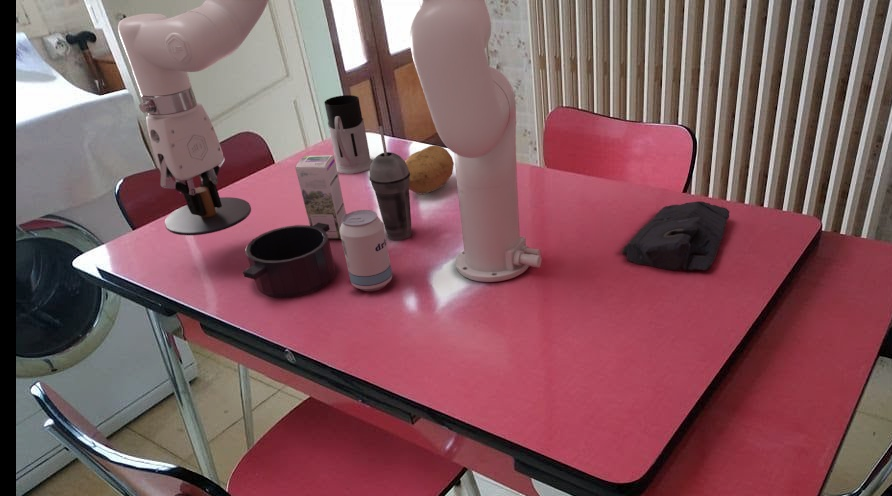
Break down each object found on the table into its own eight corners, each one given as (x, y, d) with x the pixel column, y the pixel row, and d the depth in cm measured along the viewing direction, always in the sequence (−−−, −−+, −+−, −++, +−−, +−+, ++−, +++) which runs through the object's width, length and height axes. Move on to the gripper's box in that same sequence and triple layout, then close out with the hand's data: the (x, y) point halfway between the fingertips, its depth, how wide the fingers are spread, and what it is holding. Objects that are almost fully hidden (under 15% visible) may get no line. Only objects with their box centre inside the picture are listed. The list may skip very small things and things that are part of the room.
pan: (360, 259, 122) (353, 225, 118) (289, 312, 109) (279, 276, 105) (302, 247, 128) (293, 214, 124) (228, 297, 115) (216, 261, 111)
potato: (390, 199, 143) (384, 162, 138) (427, 175, 152) (423, 139, 148) (429, 206, 139) (424, 168, 134) (465, 180, 148) (461, 144, 143)
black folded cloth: (742, 222, 124) (746, 197, 121) (705, 278, 109) (709, 251, 106) (660, 208, 130) (662, 185, 128) (615, 260, 116) (616, 234, 113)
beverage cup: (382, 246, 126) (362, 138, 114) (377, 230, 131) (358, 125, 119) (422, 239, 127) (406, 131, 115) (415, 223, 133) (399, 118, 121)
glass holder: (375, 158, 163) (364, 93, 154) (367, 181, 152) (354, 112, 143) (338, 160, 163) (325, 95, 154) (328, 184, 152) (312, 115, 143)
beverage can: (387, 294, 112) (375, 226, 104) (346, 294, 113) (331, 227, 105) (397, 273, 117) (386, 207, 110) (358, 273, 118) (344, 208, 111)
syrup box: (350, 226, 134) (334, 153, 125) (341, 240, 129) (325, 165, 120) (321, 226, 134) (304, 154, 126) (312, 240, 130) (293, 166, 121)
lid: (269, 209, 123) (260, 179, 119) (208, 244, 113) (197, 212, 109) (211, 198, 128) (201, 169, 125) (148, 231, 118) (136, 200, 115)
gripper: (144, 120, 101) (186, 233, 112) (225, 89, 113) (256, 195, 124) (110, 115, 104) (154, 226, 115) (193, 86, 116) (225, 189, 127)
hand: (206, 209), depth 119 cm, fingers closed on lid, 2 cm apart
